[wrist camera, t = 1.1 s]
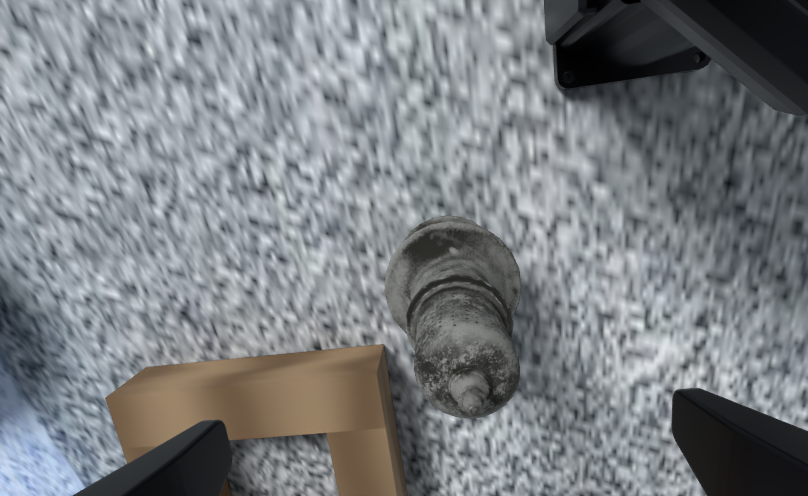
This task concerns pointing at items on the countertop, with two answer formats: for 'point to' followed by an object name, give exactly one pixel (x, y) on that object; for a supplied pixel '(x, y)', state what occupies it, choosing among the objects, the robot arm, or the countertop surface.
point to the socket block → (275, 409)
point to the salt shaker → (457, 314)
